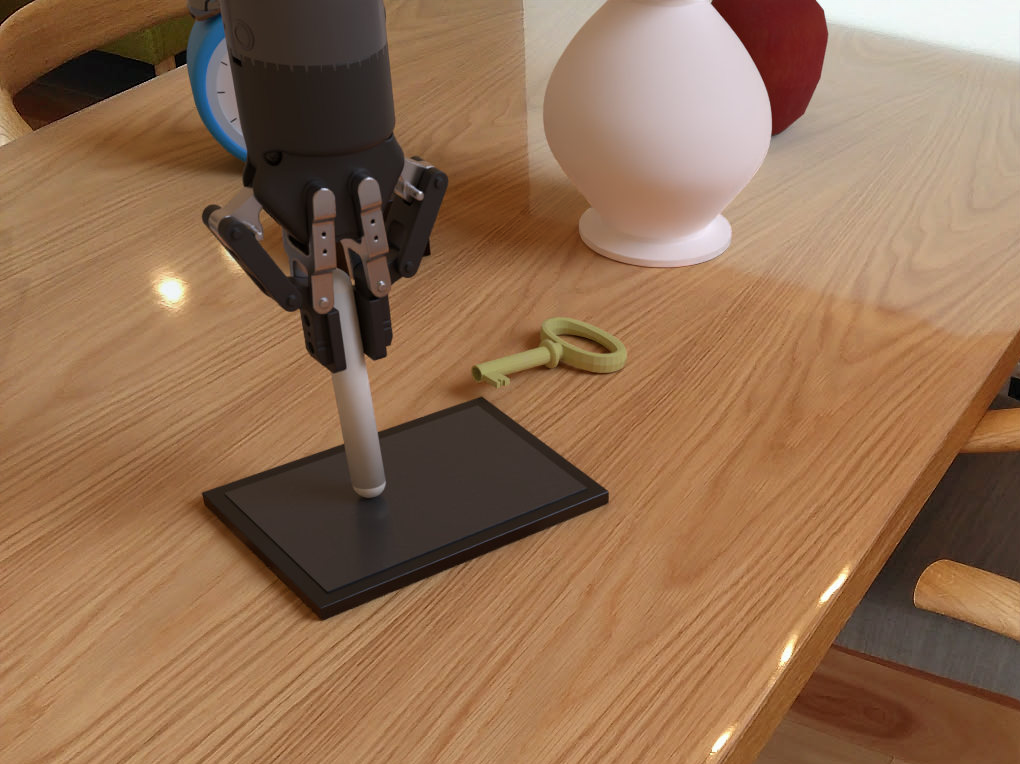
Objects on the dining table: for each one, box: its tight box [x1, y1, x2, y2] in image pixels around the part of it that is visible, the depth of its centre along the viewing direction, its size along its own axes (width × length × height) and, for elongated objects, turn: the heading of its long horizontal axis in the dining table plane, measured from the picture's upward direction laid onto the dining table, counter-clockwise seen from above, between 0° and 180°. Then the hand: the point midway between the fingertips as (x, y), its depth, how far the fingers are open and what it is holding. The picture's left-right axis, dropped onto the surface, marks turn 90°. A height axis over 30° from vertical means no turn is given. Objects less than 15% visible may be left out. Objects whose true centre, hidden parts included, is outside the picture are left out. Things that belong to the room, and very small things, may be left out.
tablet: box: [201, 396, 610, 621], centre depth 89 cm, size 20×14×1 cm
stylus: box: [330, 267, 386, 498], centre depth 83 cm, size 2×2×14 cm
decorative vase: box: [542, 0, 772, 268], centre depth 111 cm, size 18×18×25 cm
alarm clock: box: [185, 0, 247, 164], centre depth 119 cm, size 13×6×15 cm, turn 110°
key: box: [470, 316, 628, 389], centre depth 101 cm, size 7×12×2 cm, turn 155°
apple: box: [710, 0, 829, 136], centre depth 133 cm, size 12×12×13 cm
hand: (351, 359), depth 82 cm, fingers closed on stylus, 2 cm apart
